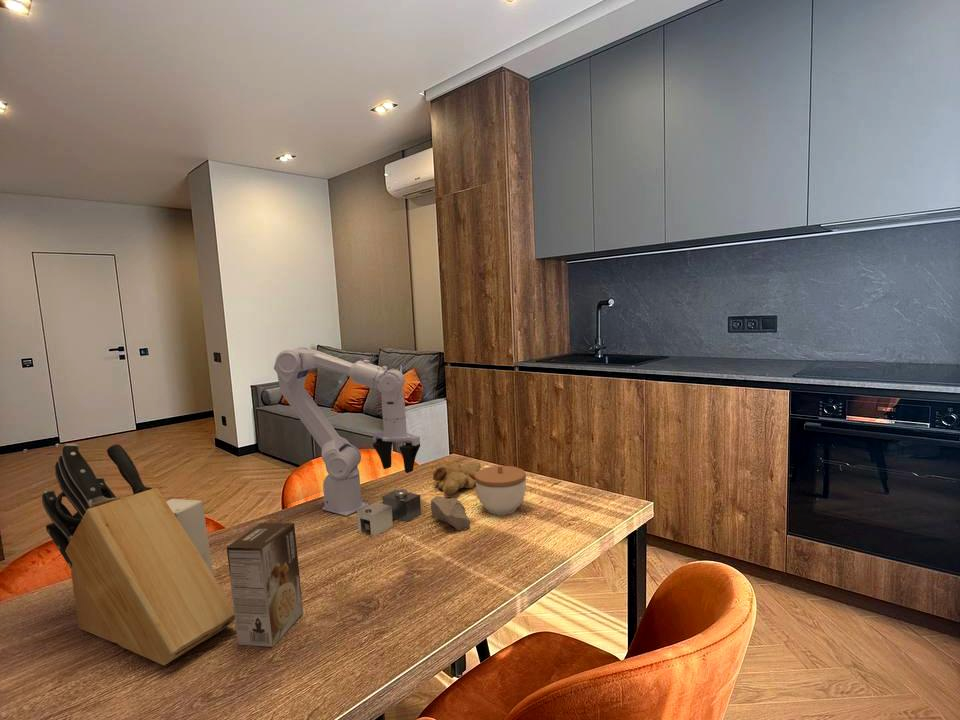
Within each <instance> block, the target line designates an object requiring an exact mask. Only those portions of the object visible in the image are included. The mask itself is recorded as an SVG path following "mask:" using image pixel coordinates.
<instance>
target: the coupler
mask: <svg viewBox="0 0 960 720" xmlns="http://www.w3.org/2000/svg"><path fill="white" fill-rule="evenodd" d="M381 498H382V504H385V505H389V506H392V519H395V520H398V521H403V522H407V523H408V522H410V521H412V520H414V519H416V518H418V517H419V516H421V515H422V505H421V504H422V503H421V494H417V493H413V492H409V491H408V490H407V489H403V488H402V489H401V488H400V489H394V490H393V491H391V492H389V493H386V494H384V495H382V497H381ZM365 529H368V530H367V531H371V528H370V521H369V522H367V523H365Z"/></svg>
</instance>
